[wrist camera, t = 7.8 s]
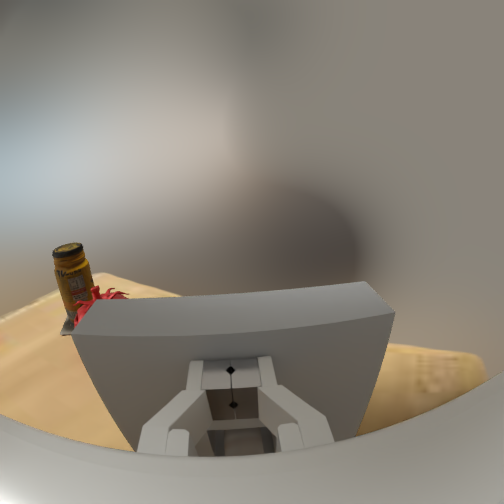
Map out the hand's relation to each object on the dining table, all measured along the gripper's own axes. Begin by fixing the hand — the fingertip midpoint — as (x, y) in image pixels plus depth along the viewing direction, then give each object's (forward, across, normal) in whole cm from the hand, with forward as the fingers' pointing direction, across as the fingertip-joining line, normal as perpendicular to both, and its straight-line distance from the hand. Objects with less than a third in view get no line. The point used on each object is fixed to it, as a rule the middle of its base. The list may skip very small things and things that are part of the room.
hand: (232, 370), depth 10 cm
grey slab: (+2, 0, +12) cm, 12 cm away
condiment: (+26, +25, +14) cm, 39 cm away
